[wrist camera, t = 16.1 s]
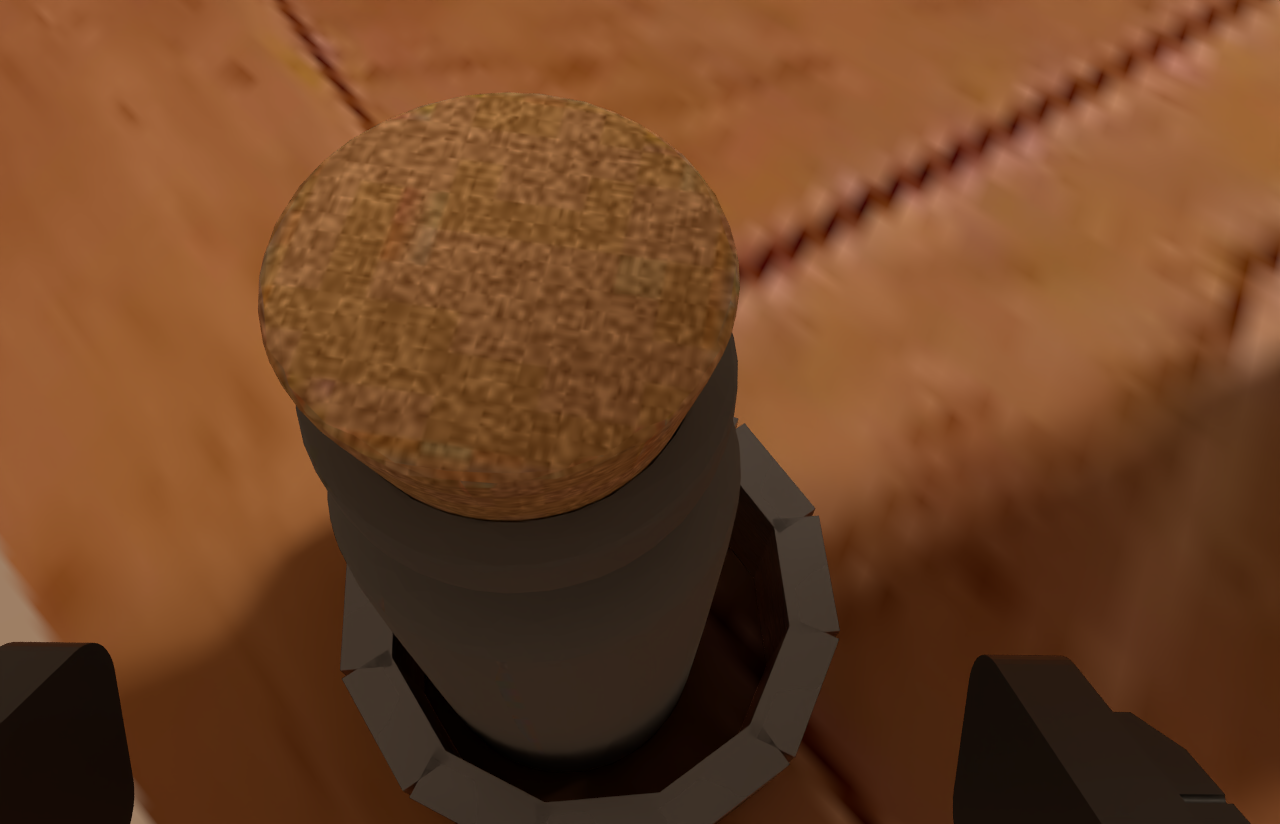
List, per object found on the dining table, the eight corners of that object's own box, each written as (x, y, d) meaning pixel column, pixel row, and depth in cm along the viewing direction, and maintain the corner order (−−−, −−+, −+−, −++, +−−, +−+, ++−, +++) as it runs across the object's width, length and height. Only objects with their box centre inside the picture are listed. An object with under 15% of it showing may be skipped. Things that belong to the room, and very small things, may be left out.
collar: (511, 389, 26) (496, 317, 23) (860, 539, 24) (896, 484, 21) (296, 737, 21) (242, 708, 18) (702, 954, 20) (718, 962, 16)
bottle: (617, 825, 21) (622, 668, 7) (394, 696, 22) (55, 361, 9) (732, 595, 23) (888, 170, 10) (526, 490, 24) (420, -16, 11)
